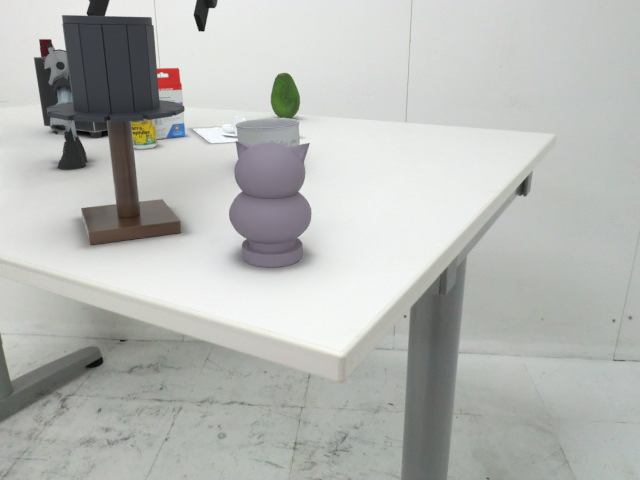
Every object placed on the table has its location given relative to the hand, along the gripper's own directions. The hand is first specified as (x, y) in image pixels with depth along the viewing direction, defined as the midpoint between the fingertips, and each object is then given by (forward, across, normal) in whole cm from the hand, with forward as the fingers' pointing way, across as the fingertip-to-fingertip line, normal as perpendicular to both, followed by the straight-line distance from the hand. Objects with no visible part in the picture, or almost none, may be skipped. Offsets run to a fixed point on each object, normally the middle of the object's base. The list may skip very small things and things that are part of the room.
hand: (145, 22), depth 71 cm
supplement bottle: (-9, +16, -42) cm, 46 cm away
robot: (+3, +22, -30) cm, 38 cm away
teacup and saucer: (-23, 0, -56) cm, 60 cm away
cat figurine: (+30, -19, -3) cm, 36 cm away
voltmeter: (-22, +34, -55) cm, 68 cm away
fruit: (-40, -7, -73) cm, 84 cm away
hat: (+15, 0, +1) cm, 15 cm away
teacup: (0, -12, -33) cm, 35 cm away
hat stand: (+24, 0, -8) cm, 26 cm away
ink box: (-18, +16, -51) cm, 56 cm away
